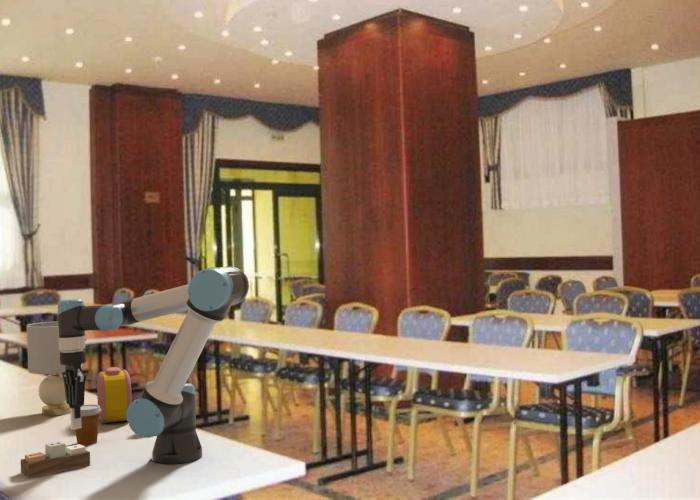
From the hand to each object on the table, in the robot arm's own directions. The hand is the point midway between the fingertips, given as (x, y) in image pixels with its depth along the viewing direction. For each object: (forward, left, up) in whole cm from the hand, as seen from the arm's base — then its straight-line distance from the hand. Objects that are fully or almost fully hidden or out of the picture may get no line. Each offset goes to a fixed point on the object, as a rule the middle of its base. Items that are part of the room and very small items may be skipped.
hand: (76, 428), depth 238 cm
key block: (+1, +6, -11) cm, 13 cm away
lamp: (+78, -23, -11) cm, 82 cm away
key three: (+1, +12, -10) cm, 16 cm away
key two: (+1, +6, -8) cm, 10 cm away
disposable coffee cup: (+23, -13, -11) cm, 29 cm away
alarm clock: (+48, -34, -11) cm, 60 cm away
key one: (0, 0, -10) cm, 10 cm away
